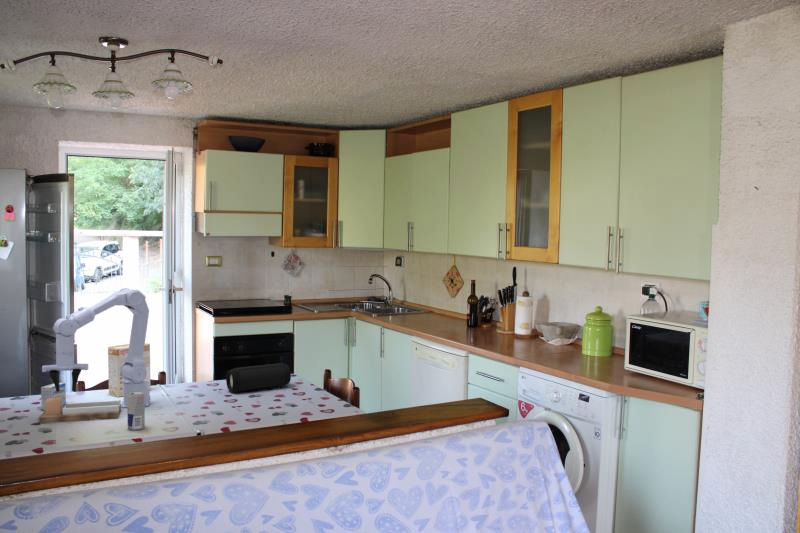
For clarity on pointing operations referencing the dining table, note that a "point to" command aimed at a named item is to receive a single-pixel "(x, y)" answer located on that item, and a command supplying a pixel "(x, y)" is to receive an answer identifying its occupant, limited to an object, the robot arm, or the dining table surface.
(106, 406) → the rails
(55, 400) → the block
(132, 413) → the energy drink
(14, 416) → the dining table surface
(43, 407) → the medicine box
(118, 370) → the coffeecake box
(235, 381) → the portable speaker
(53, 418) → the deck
